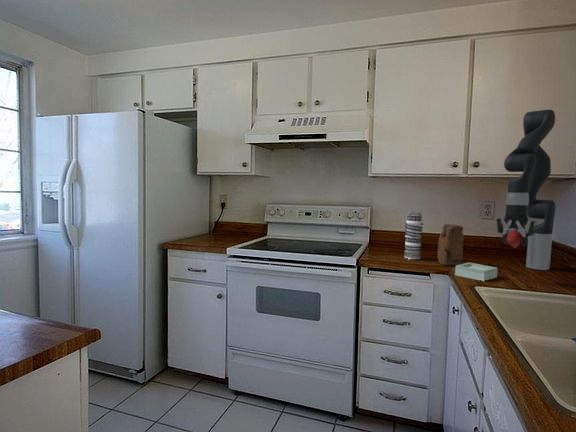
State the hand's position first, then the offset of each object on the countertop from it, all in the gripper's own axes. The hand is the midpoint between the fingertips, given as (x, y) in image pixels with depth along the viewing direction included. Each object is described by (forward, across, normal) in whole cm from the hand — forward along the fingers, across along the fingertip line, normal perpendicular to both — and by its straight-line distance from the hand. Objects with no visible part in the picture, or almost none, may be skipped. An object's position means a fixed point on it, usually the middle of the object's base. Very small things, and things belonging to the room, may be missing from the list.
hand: (514, 244), depth 140 cm
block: (+15, +31, -8) cm, 35 cm away
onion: (+2, 0, 0) cm, 2 cm away
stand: (+15, +12, +5) cm, 20 cm away
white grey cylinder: (+15, +50, -5) cm, 53 cm away
